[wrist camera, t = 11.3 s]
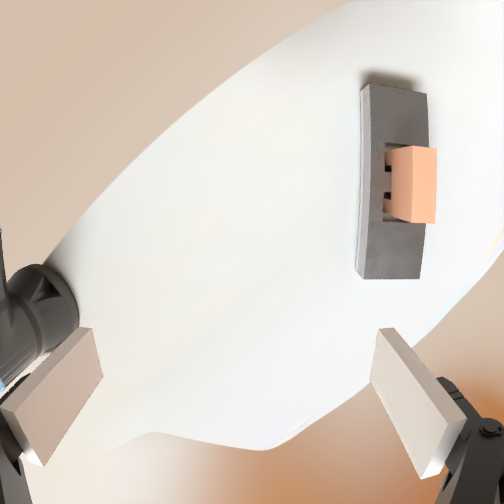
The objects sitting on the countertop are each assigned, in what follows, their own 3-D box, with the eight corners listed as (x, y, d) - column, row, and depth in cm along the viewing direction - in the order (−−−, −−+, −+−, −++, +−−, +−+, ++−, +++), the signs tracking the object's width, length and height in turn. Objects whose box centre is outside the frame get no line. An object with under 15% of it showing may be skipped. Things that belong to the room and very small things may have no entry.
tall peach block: (382, 212, 39) (411, 222, 30) (383, 151, 37) (412, 145, 29) (402, 213, 39) (434, 223, 30) (403, 153, 37) (436, 148, 29)
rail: (355, 270, 42) (363, 279, 38) (360, 91, 37) (369, 83, 33) (407, 270, 42) (419, 278, 38) (413, 99, 36) (426, 93, 32)
